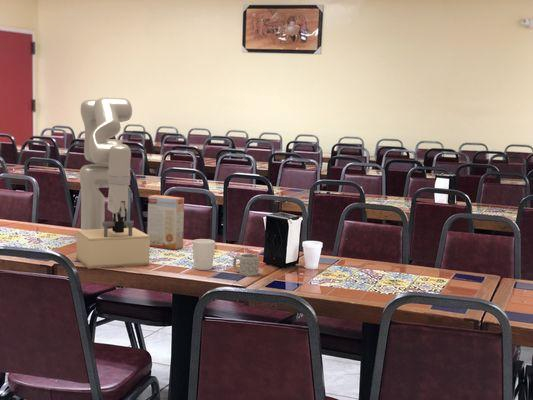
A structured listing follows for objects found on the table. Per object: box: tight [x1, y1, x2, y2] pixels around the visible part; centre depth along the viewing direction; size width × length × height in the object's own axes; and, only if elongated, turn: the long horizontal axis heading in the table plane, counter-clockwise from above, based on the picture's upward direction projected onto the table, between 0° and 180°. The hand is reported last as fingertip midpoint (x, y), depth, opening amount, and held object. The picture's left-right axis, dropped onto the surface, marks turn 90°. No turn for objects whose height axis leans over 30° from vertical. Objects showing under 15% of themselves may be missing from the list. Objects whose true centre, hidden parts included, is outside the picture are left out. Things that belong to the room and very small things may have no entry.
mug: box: [232, 253, 260, 277], centre depth 271 cm, size 10×7×7 cm
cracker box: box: [146, 194, 185, 251], centre depth 311 cm, size 14×6×21 cm, turn 63°
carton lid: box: [76, 220, 150, 240], centre depth 279 cm, size 18×22×6 cm
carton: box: [75, 231, 151, 270], centre depth 280 cm, size 18×22×10 cm
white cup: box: [192, 238, 216, 271], centre depth 276 cm, size 8×8×10 cm
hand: (118, 231), depth 273 cm, fingers closed on carton lid, 2 cm apart
